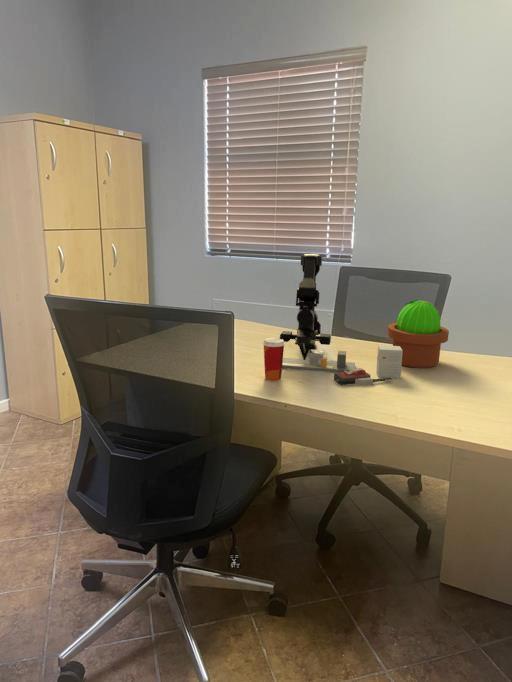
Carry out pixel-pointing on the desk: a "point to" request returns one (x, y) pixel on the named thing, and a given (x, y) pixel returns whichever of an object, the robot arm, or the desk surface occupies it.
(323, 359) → the block
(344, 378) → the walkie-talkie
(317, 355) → the grey faceted block
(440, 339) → the potted cactus
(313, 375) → the desk surface
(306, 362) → the gauge board
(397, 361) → the small box
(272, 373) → the paper cup
